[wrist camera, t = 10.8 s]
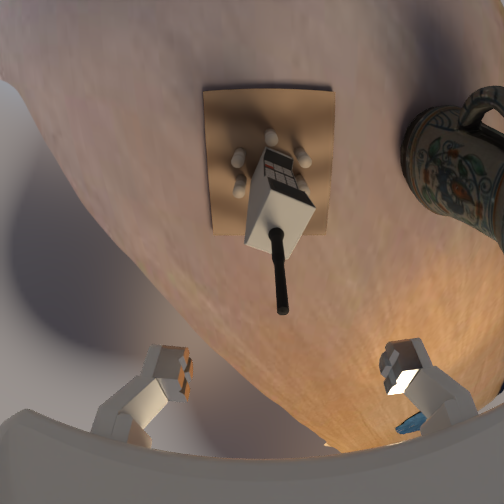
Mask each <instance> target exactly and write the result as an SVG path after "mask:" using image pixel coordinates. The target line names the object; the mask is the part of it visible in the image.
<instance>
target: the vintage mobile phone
mask: <svg viewBox="0 0 504 504" xmlns="http://www.w3.org/2000/svg"><path fill="white" fill-rule="evenodd" d="M293 161H294V159H293V158H292V157H290V156H288V155H285V154H283V153H281V152H278V151H276V150H273V149H271V148H268V147H265V149H264V151H263V153H262V155H261V158H260V160H259V162H258V165H257V167H256V169H255V172H254V174H253V176H252V179H251V183H250V192H249V201H248V211H247V220H246V230H245V240H244V244H245V245H248V246H250V247H253V248H256V249H259V250H262V251H264V252H267V253H270V254H272V260H273V263H274V266H275V282H276V298H277V313H278V314H279V315H286V314H288V312H289V306H288V296H287V287H286V278H285V269H284V261H285V259H289V257H290V255H291V253H292V251H293V250H294V248H295V246H296V244H297V242H298V241H299V239H300V237H301V235H302V233H303V231H304V230H305V228H306V226H307V224H308V222H309V220H310V219H311V217H312V215H313V213H314V211H315V209H316V207H315V206H314V204H313V203H312V201H311V200H310V198H309V197H308V195H307V194H306V192H305V191H301V190H300V189H299V187H298V184H297V181H296V179H295V176H294V174H293V171H292V168H293Z"/></svg>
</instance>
